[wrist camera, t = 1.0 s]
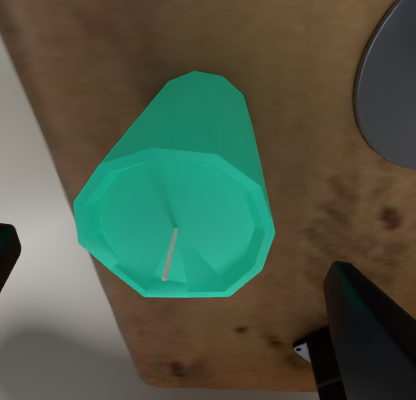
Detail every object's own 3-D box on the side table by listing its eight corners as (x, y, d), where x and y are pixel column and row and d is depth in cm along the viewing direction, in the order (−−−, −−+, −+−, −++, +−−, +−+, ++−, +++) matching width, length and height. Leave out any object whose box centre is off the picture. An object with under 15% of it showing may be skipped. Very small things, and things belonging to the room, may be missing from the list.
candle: (140, 75, 16) (-2, 183, 6) (250, 65, 16) (291, 165, 6) (160, 172, 19) (89, 346, 9) (252, 166, 19) (280, 345, 9)
